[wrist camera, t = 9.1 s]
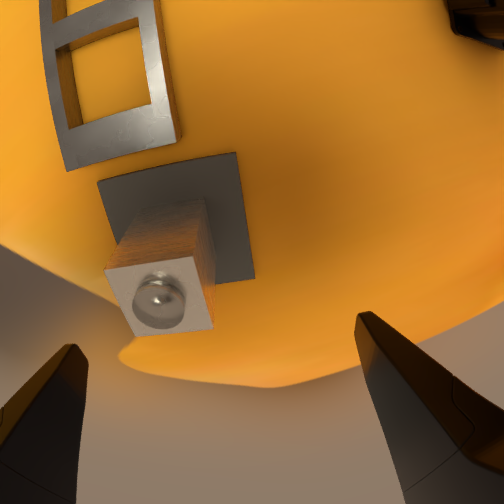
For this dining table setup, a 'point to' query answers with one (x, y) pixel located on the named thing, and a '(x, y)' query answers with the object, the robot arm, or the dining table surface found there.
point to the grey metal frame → (64, 89)
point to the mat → (182, 188)
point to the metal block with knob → (166, 269)
